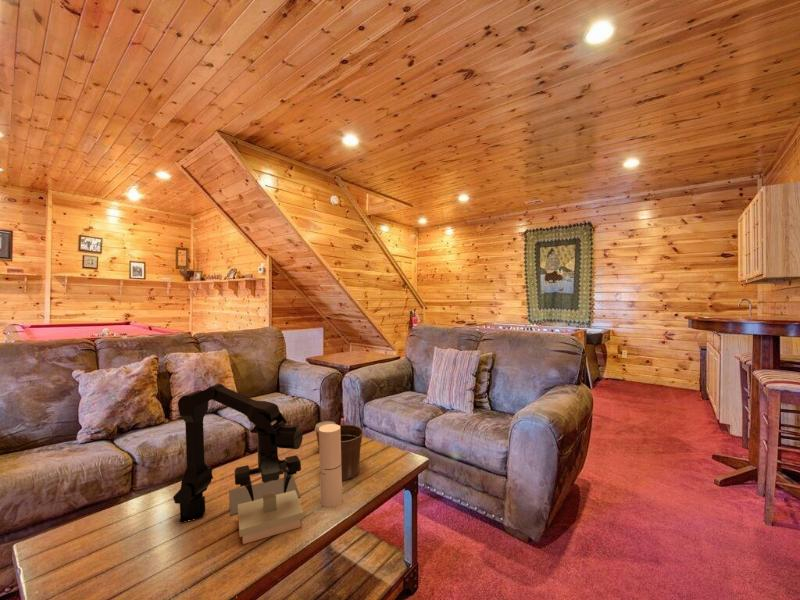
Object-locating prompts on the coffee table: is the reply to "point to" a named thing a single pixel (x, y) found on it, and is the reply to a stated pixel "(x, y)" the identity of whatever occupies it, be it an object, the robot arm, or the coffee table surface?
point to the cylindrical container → (330, 465)
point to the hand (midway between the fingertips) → (269, 496)
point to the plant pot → (350, 450)
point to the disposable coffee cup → (320, 426)
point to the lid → (269, 512)
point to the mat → (259, 492)
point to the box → (271, 531)
